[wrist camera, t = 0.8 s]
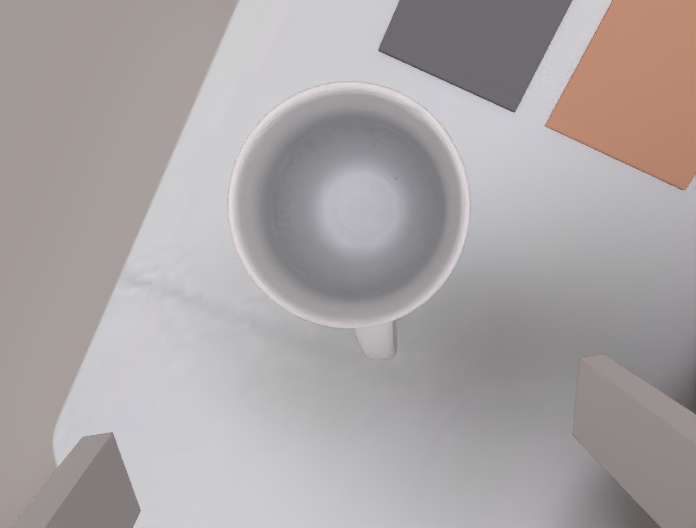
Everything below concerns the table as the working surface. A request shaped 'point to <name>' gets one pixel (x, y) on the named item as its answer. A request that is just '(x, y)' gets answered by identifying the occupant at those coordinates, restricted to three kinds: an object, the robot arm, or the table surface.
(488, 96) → the charcoal mat
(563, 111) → the terracotta tile
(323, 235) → the mug
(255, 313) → the table surface
